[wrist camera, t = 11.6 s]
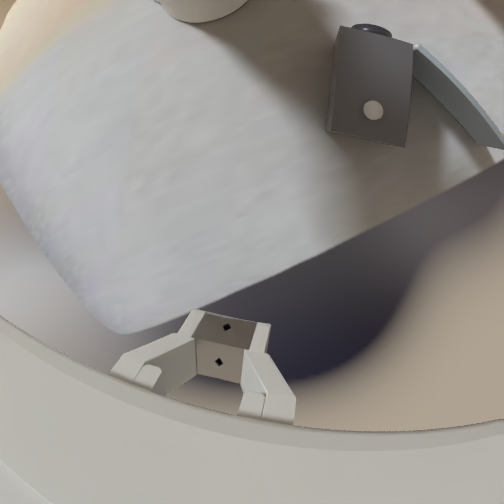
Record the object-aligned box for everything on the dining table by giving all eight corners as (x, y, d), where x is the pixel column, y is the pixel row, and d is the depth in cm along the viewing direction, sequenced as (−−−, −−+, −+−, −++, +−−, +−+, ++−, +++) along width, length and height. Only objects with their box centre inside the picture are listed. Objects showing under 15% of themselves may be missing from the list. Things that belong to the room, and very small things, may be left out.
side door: (394, 61, 27) (414, 46, 20) (400, 53, 26) (420, 38, 19) (477, 144, 28) (507, 150, 21) (482, 137, 27) (512, 141, 21)
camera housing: (334, 36, 27) (341, 11, 20) (393, 50, 26) (414, 31, 19) (325, 131, 33) (331, 130, 25) (385, 144, 32) (406, 147, 24)
